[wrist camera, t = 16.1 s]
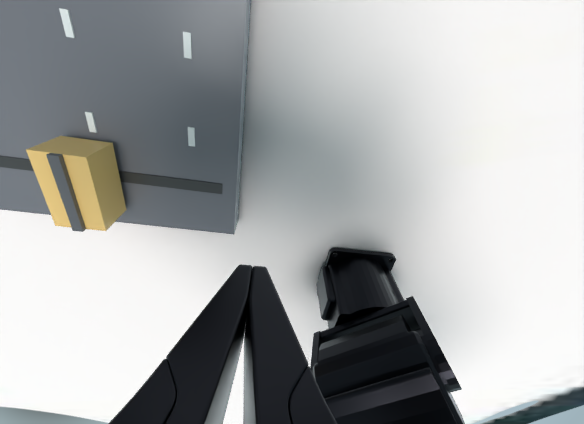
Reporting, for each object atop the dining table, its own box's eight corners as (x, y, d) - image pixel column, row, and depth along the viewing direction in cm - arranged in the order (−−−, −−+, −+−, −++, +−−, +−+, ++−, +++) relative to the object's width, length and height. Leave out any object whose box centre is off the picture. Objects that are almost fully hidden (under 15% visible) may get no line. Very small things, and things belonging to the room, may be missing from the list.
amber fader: (112, 142, 16) (82, 159, 14) (126, 209, 19) (103, 233, 17) (60, 135, 16) (21, 151, 14) (82, 204, 19) (51, 228, 16)
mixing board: (258, -130, 12) (254, -160, 10) (237, 220, 23) (233, 235, 21) (-200, -250, 10) (-301, -312, 8) (8, 194, 21) (-17, 208, 19)
